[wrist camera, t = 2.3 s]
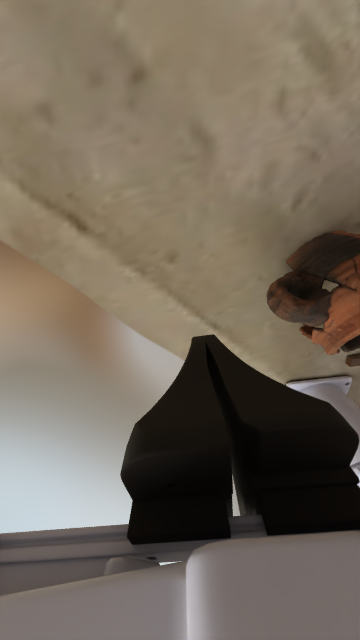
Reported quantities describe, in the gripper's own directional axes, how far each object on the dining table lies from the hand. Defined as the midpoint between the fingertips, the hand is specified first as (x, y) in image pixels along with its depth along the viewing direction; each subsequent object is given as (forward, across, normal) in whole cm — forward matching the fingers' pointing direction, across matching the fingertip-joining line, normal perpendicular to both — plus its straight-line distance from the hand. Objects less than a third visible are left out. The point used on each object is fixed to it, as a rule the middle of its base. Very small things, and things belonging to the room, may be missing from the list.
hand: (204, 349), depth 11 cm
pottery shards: (+9, -12, 0) cm, 14 cm away
